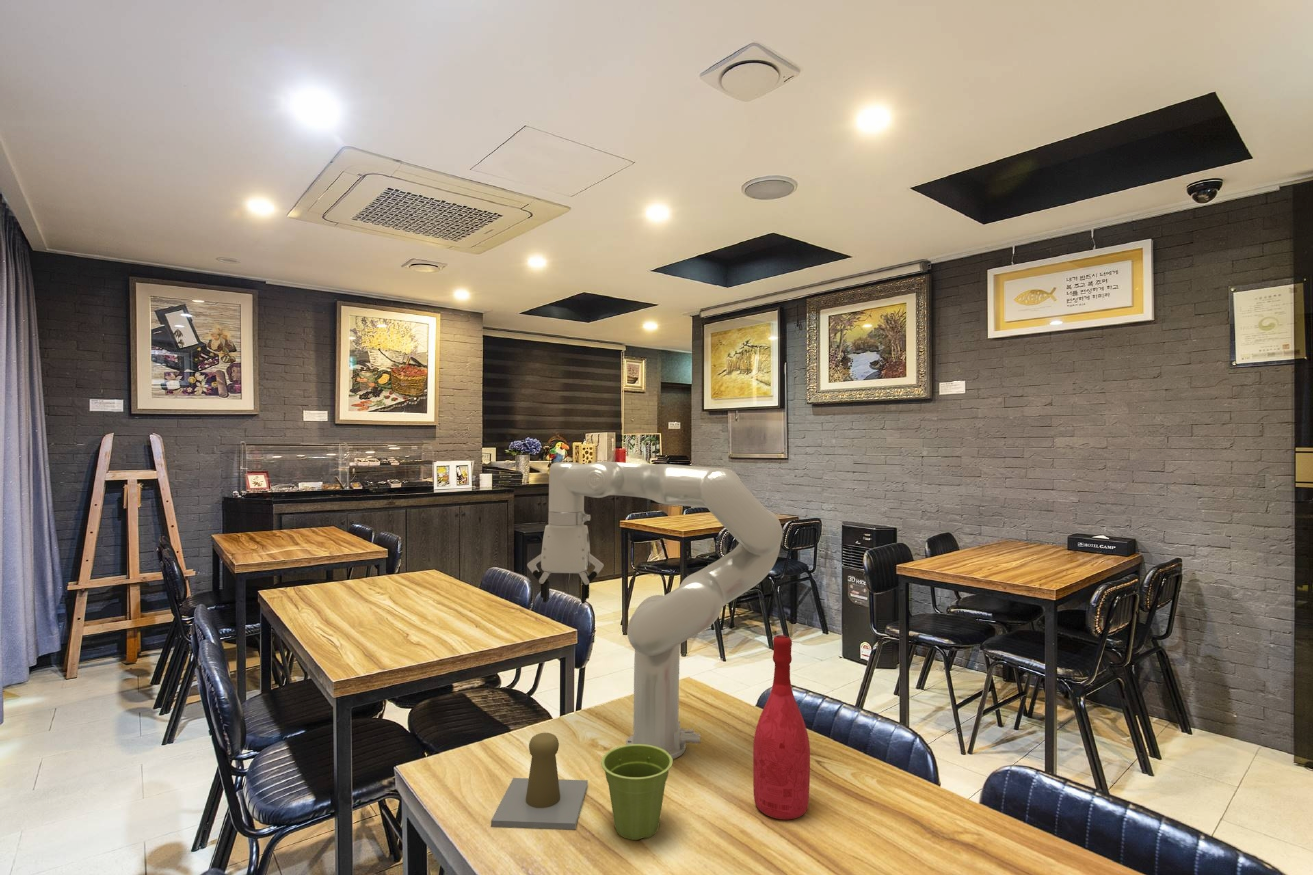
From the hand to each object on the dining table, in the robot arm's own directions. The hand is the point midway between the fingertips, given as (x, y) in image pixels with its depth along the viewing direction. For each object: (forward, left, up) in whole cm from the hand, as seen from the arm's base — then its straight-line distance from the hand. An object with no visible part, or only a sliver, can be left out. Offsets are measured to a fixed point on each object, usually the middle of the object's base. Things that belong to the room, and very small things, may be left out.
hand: (564, 601), depth 140 cm
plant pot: (-18, +31, -30) cm, 47 cm away
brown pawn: (-1, +25, -29) cm, 38 cm away
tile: (-1, +25, -30) cm, 39 cm away
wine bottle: (-43, +23, -30) cm, 57 cm away
